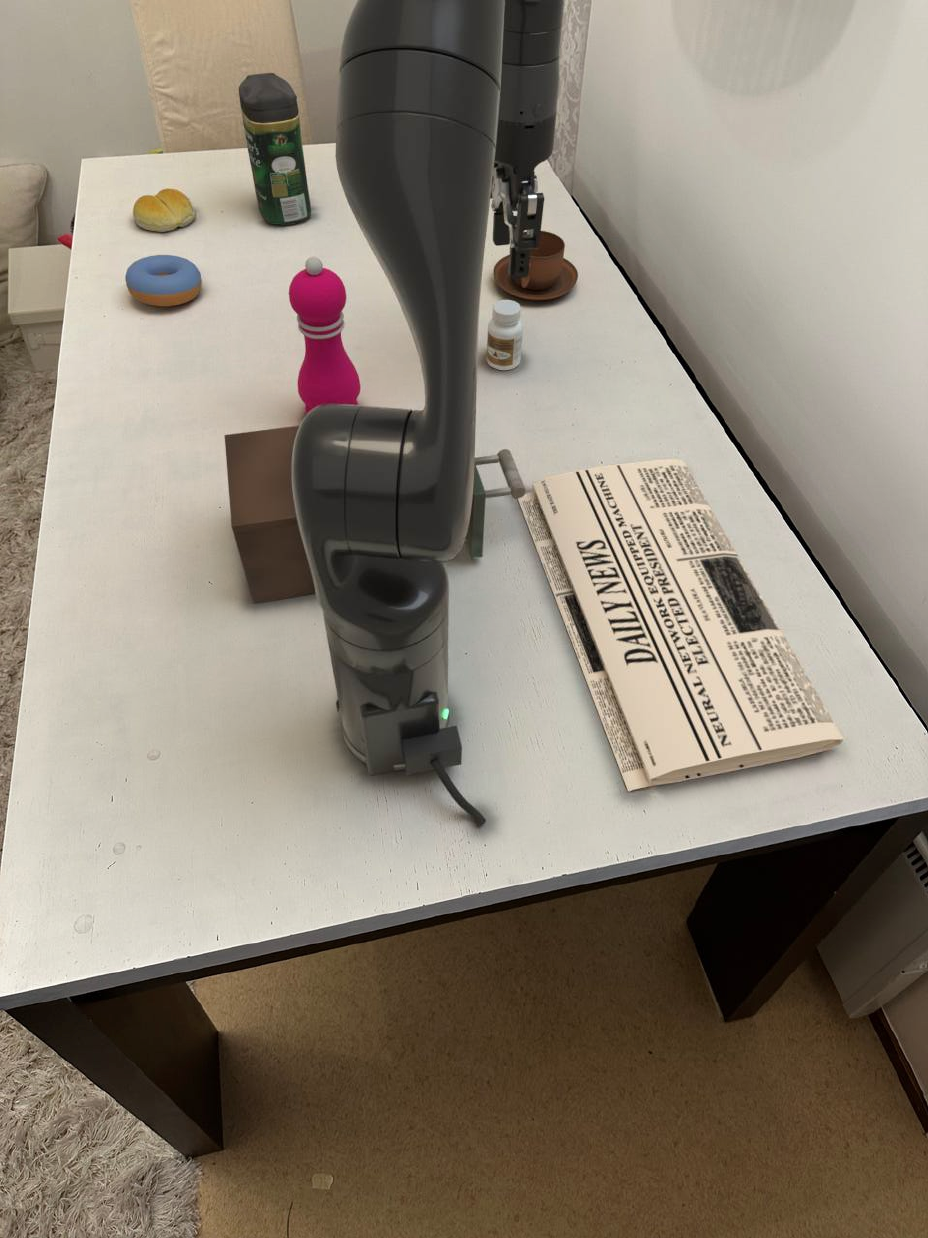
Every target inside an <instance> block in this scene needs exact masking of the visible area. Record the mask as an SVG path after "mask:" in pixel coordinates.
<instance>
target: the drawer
mask: <svg viewBox="0 0 928 1238" xmlns="http://www.w3.org/2000/svg"><path fill="white" fill-rule="evenodd" d="M497 463H499V466H500V468H501V471H502V474H503V476H504V479H505V482H506V484H507V485H506V486H507V487H501V488H500V487H499V488H493V489H485V487H484V484H483V481H482V478H481V475H480V472H479V470H478V469H479V468H478V466H483V465H489V464H490V465H491V464H497ZM525 493H527V490H526V486H525V484H524V482H523V480H522V477H521V475H520V472H519V469H518V467H517V464H516V461H515V459H514V457H513V454H512V452H511V450H509V449H507V448H504V449H503V448H502V449H501V450H499V451H498V453H497V454H492V455H484V456H478V457H476V456H475V462H474V484H473V498H472V508H471V515H470V521H469V527H468V531H467V535H466V538H465V543H466V546H467V549H468V552H469V557H470V558H471V559H478V558H482V557H483V556H484V555H483V553H484V552H483V551H484V536H485V532H484V531H485V515H486V499H492V498H498V497H505V496H511V497H512V498H514V499H518V498H521V497H523V496H524V495H525Z"/></svg>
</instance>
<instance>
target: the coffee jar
mask: <svg viewBox="0 0 928 1238" xmlns="http://www.w3.org/2000/svg"><path fill="white" fill-rule="evenodd" d="M238 97H239V104H240V105H239V106H240V112H241V118H242V124H243V129H244V136H245V141H246V147H247V153H248V159H249V165H250V169H251V173H252V179H253V184H254V185H253V186H254V191H255V192H254V193H255V197H256V201H257V206H258V210H259V212H260V215H261V216H262V217H263V219H264V220H265V221H266V222H267V223H269V224H272V225H283V226H290V225H295V224H298V223H300V222H303V221H304V220H307V219H308V218H310V216H311V214H312V208H311V200H310V193H309V192H310V191H309V186H308V185H309V184H308V177H307V171H306V163H305V156H304V155H305V154H304V148H303V141H302V131H301V123H300V122H301V121H300V120H301V119H300V112H299V111H300V110H299V107H298V100H297V99H298V96H297V95H296V92H295V91H294V88H293V87H292V86H291V84H290V83H289V82H288V81H287V80H285V79H284V78H283V77H280V76H279V75H277V74H276V73H275V72H263V73H256V74H249V75H247V76H246V77H245V78H244V79H243V80H242V81H241V83H240V84H239V86H238Z"/></svg>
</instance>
